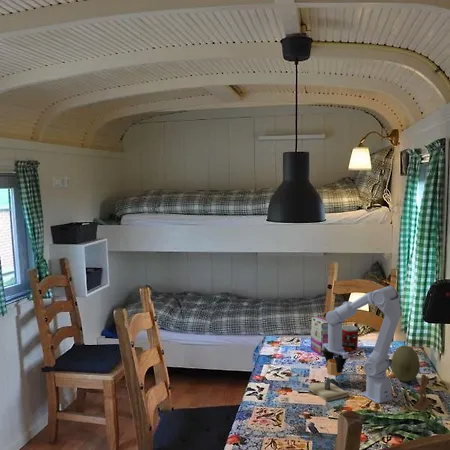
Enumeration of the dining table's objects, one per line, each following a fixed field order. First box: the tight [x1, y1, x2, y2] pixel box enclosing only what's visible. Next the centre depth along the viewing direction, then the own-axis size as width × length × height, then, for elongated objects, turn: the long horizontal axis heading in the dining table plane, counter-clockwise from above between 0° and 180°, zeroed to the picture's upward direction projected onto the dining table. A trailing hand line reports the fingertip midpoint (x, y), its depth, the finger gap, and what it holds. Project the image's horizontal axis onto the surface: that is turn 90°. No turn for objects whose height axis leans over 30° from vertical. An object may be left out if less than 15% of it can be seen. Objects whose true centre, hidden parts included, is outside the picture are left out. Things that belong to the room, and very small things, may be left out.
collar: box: [326, 358, 343, 377], centre depth 202 cm, size 6×6×5 cm
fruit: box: [391, 345, 421, 383], centre depth 204 cm, size 11×11×15 cm
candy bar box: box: [310, 316, 328, 357], centre depth 237 cm, size 11×5×16 cm, turn 17°
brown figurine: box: [412, 374, 433, 412], centre depth 181 cm, size 9×4×12 cm, turn 138°
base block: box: [307, 381, 348, 402], centre depth 193 cm, size 12×10×2 cm
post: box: [324, 377, 331, 390], centre depth 193 cm, size 2×2×5 cm
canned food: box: [342, 325, 359, 353], centre depth 241 cm, size 8×8×11 cm
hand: (334, 369), depth 203 cm, fingers closed on collar, 6 cm apart
